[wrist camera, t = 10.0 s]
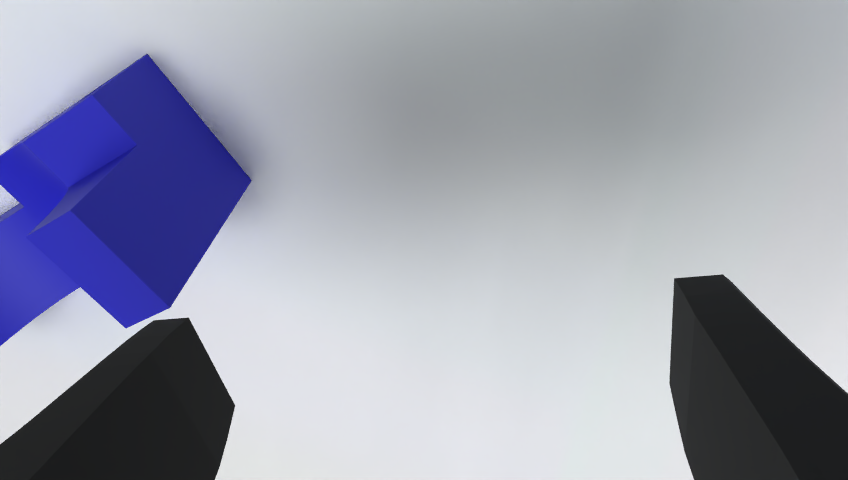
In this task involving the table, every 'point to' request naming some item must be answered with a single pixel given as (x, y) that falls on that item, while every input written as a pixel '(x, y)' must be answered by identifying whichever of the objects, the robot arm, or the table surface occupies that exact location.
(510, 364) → the table surface
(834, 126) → the table surface
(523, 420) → the table surface
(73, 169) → the cable clip
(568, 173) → the table surface
